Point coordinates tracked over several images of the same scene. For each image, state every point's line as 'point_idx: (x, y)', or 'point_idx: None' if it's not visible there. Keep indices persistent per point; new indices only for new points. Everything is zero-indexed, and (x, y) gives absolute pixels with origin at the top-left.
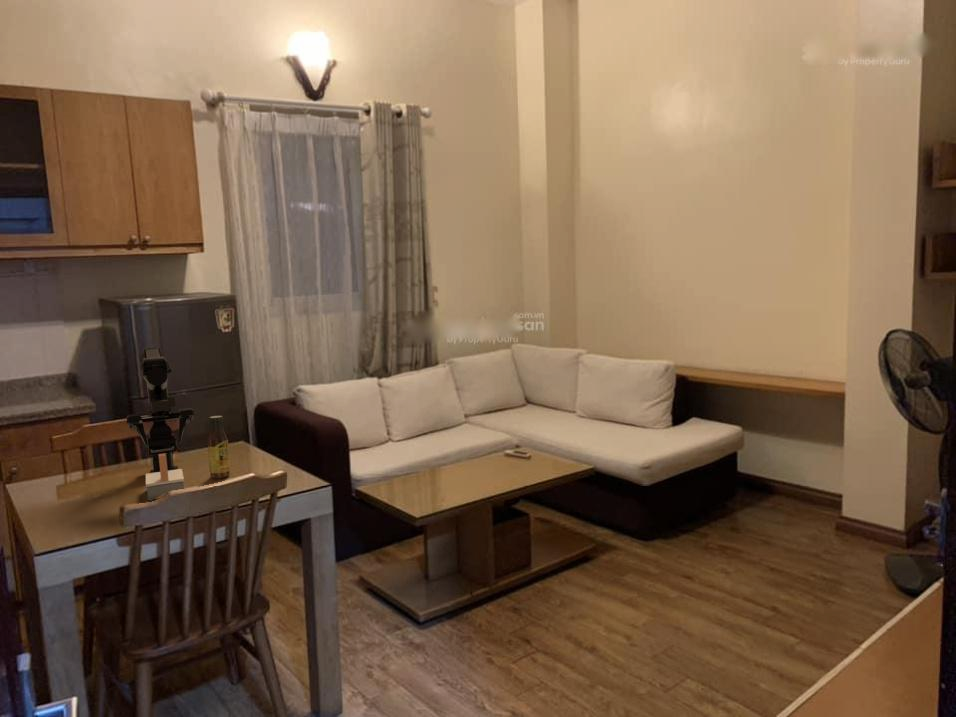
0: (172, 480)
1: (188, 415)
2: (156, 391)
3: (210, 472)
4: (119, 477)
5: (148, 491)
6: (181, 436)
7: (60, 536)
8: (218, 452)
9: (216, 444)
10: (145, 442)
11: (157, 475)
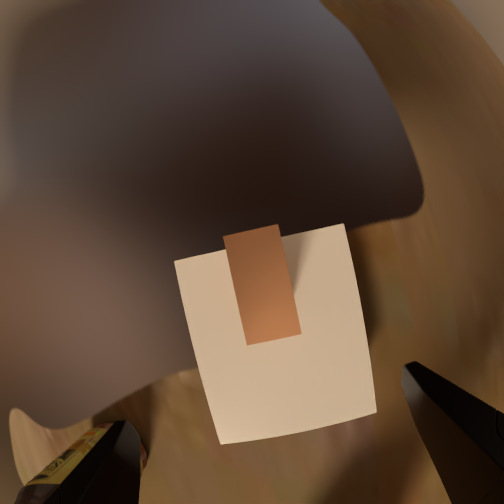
0: (224, 250)
1: None
2: None
3: None
4: None
5: None
6: (90, 451)
7: (445, 27)
8: (60, 466)
9: (46, 486)
10: (436, 378)
11: (318, 371)
